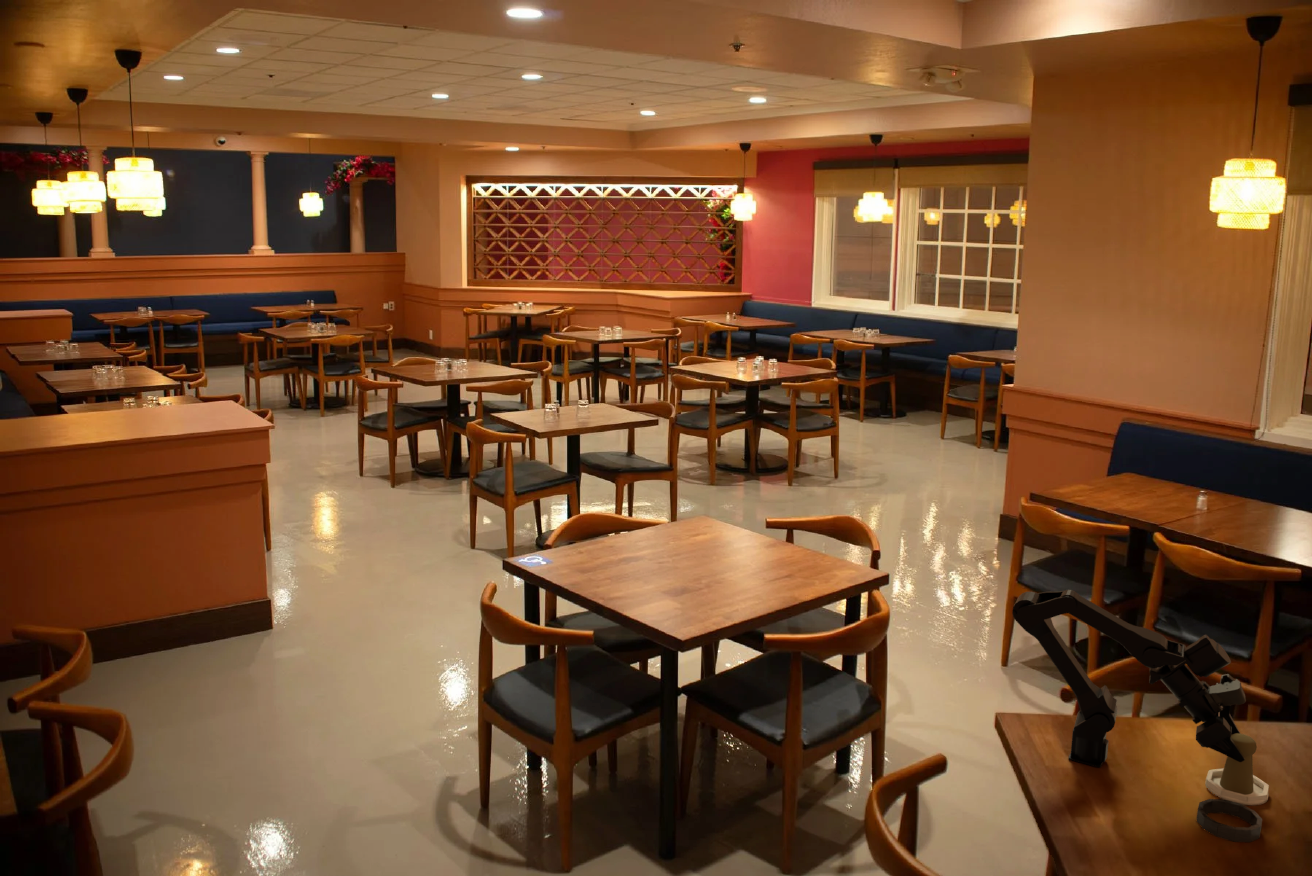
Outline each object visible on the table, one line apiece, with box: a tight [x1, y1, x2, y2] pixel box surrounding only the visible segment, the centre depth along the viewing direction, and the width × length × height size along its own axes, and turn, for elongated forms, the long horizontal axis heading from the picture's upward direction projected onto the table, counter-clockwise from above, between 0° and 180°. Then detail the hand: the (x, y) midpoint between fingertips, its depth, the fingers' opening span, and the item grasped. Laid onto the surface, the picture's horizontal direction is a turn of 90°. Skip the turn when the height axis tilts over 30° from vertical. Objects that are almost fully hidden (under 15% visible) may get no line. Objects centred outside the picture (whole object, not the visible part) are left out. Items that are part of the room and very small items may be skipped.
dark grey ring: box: [1195, 798, 1263, 843], centre depth 199 cm, size 11×11×2 cm
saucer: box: [1205, 767, 1270, 806], centre depth 212 cm, size 11×11×2 cm
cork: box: [1220, 733, 1258, 795], centre depth 211 cm, size 6×6×11 cm
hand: (1242, 750), depth 210 cm, fingers open, 9 cm apart
